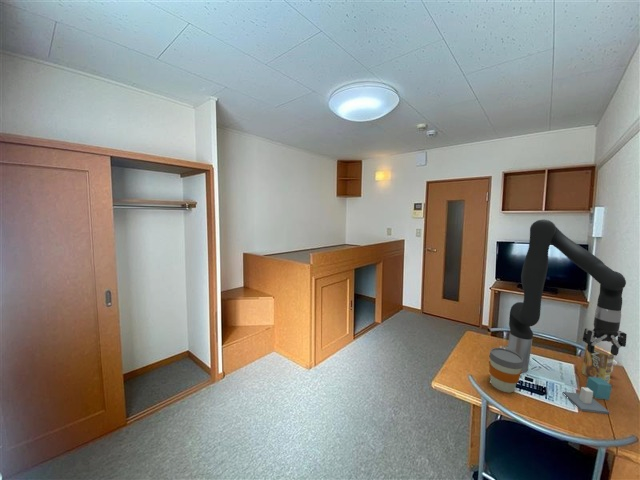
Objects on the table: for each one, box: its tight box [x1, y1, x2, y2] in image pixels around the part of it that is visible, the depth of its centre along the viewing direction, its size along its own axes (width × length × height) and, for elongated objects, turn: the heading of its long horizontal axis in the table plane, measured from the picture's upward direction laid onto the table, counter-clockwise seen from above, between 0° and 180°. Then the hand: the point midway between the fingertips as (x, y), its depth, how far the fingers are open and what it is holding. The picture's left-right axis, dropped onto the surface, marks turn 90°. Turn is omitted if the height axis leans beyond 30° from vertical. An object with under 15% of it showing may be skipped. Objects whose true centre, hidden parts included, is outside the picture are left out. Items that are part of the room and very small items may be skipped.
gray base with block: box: [562, 386, 610, 415], centre depth 112 cm, size 10×10×6 cm
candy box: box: [581, 344, 615, 384], centre depth 129 cm, size 9×4×15 cm, turn 13°
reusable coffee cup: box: [488, 347, 523, 393], centre depth 121 cm, size 13×13×15 cm
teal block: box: [585, 376, 613, 401], centre depth 118 cm, size 5×5×7 cm
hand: (602, 353), depth 117 cm, fingers open, 8 cm apart
